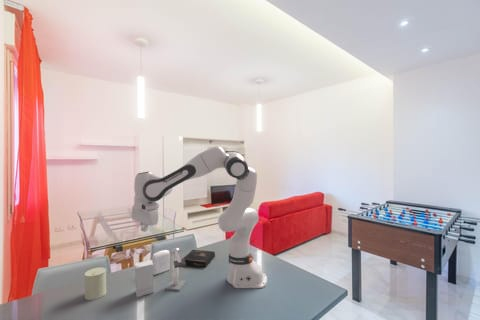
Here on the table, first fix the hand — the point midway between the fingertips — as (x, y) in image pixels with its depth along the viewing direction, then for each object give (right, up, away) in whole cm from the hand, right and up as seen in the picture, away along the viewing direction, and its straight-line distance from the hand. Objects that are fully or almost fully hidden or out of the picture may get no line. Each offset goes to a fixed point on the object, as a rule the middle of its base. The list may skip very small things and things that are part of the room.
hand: (144, 231), depth 114 cm
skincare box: (0, -31, 0) cm, 31 cm away
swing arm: (+18, -13, -2) cm, 22 cm away
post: (+14, -31, +5) cm, 35 cm away
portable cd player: (+21, -32, +36) cm, 52 cm away
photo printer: (+1, -31, +21) cm, 38 cm away
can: (-24, -32, -2) cm, 39 cm away
